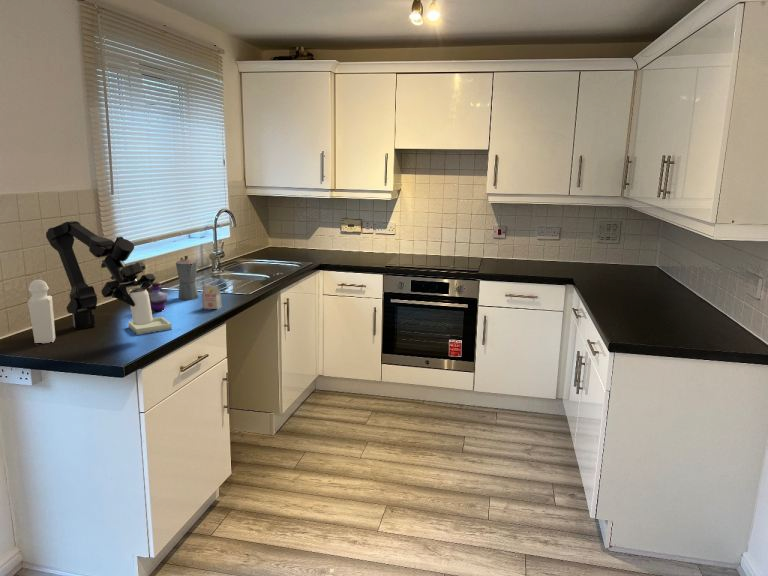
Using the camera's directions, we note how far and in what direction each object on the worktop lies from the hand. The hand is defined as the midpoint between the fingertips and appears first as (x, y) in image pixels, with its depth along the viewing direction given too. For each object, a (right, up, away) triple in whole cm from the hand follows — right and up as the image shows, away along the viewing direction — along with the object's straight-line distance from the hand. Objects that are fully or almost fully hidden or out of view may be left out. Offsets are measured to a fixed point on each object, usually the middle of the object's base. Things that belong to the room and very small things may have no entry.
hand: (142, 303), depth 198 cm
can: (-1, -7, +3) cm, 7 cm away
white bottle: (-34, -13, +1) cm, 37 cm away
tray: (-4, -10, +17) cm, 20 cm away
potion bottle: (-12, -4, +44) cm, 46 cm away
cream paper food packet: (+10, -4, +48) cm, 49 cm away
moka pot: (-7, +1, +66) cm, 67 cm away
